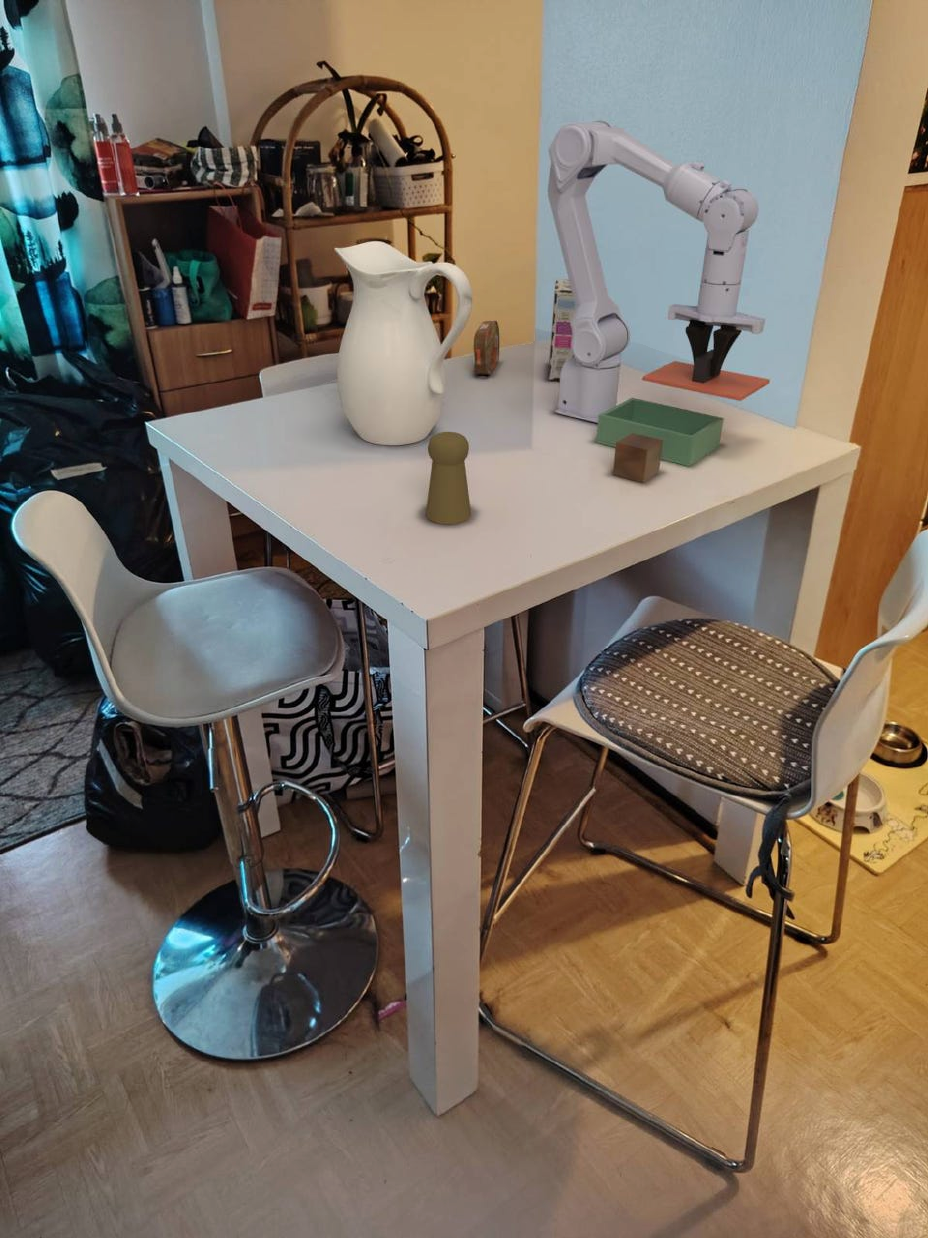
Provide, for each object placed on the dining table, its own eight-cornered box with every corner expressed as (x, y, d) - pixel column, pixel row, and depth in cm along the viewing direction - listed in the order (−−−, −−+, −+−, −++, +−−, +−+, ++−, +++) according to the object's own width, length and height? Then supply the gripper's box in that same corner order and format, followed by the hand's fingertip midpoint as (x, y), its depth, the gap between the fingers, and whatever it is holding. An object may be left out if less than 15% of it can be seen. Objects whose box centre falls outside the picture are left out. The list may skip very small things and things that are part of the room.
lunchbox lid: (641, 380, 139) (644, 353, 137) (674, 364, 147) (677, 338, 144) (740, 401, 131) (745, 372, 128) (769, 383, 138) (774, 355, 136)
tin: (487, 380, 168) (488, 335, 164) (470, 379, 169) (471, 334, 164) (500, 358, 181) (501, 316, 176) (485, 357, 181) (486, 315, 177)
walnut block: (612, 474, 130) (615, 442, 127) (628, 464, 134) (632, 432, 131) (643, 483, 128) (647, 450, 125) (659, 472, 131) (663, 440, 128)
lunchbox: (595, 442, 141) (598, 414, 139) (629, 423, 149) (631, 397, 146) (689, 466, 133) (693, 437, 131) (719, 445, 141) (724, 417, 138)
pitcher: (319, 434, 143) (304, 248, 128) (395, 409, 154) (390, 235, 139) (424, 475, 129) (421, 272, 115) (500, 444, 140) (506, 256, 125)
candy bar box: (574, 382, 168) (581, 291, 159) (548, 381, 168) (553, 290, 160) (574, 365, 177) (581, 278, 169) (549, 364, 178) (554, 277, 169)
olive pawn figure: (424, 505, 120) (423, 427, 115) (469, 504, 121) (470, 426, 115) (426, 525, 115) (425, 444, 109) (473, 523, 116) (474, 443, 110)
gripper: (663, 278, 132) (652, 370, 139) (757, 292, 124) (741, 388, 131) (684, 271, 137) (672, 360, 144) (776, 284, 129) (759, 377, 136)
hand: (706, 373), depth 138 cm, fingers closed on lunchbox lid, 2 cm apart
